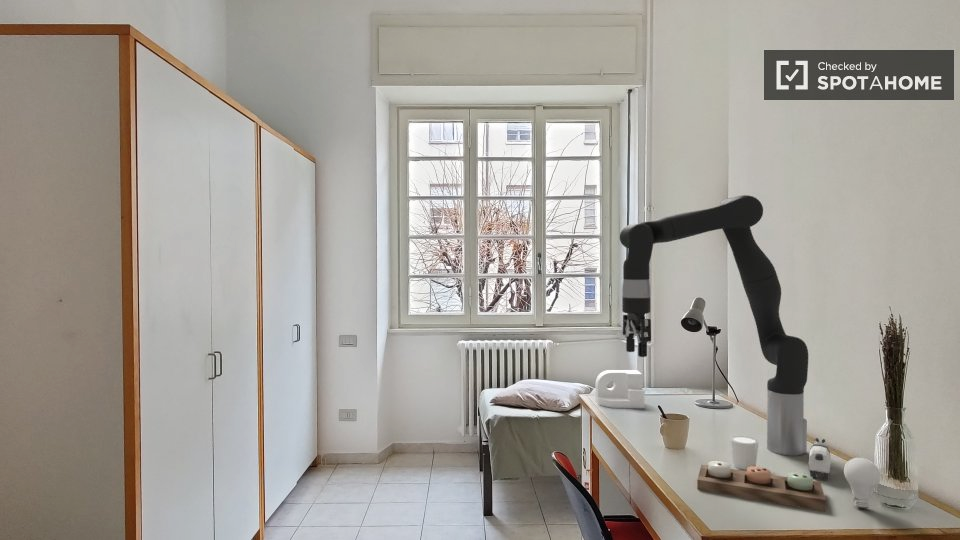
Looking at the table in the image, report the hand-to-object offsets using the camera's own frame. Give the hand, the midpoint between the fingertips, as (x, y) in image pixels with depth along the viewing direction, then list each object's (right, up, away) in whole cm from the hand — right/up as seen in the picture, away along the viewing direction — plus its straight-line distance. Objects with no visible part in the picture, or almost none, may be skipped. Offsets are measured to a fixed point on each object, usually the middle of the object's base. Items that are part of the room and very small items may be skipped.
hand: (636, 354), depth 156 cm
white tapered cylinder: (+26, -29, -7) cm, 40 cm away
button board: (+22, -29, -24) cm, 43 cm away
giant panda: (+44, -29, -12) cm, 54 cm away
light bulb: (+40, -29, -33) cm, 60 cm away
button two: (+30, -26, -28) cm, 48 cm away
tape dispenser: (+9, -28, +55) cm, 62 cm away
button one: (+15, -26, -20) cm, 36 cm away
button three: (+22, -26, -24) cm, 42 cm away
